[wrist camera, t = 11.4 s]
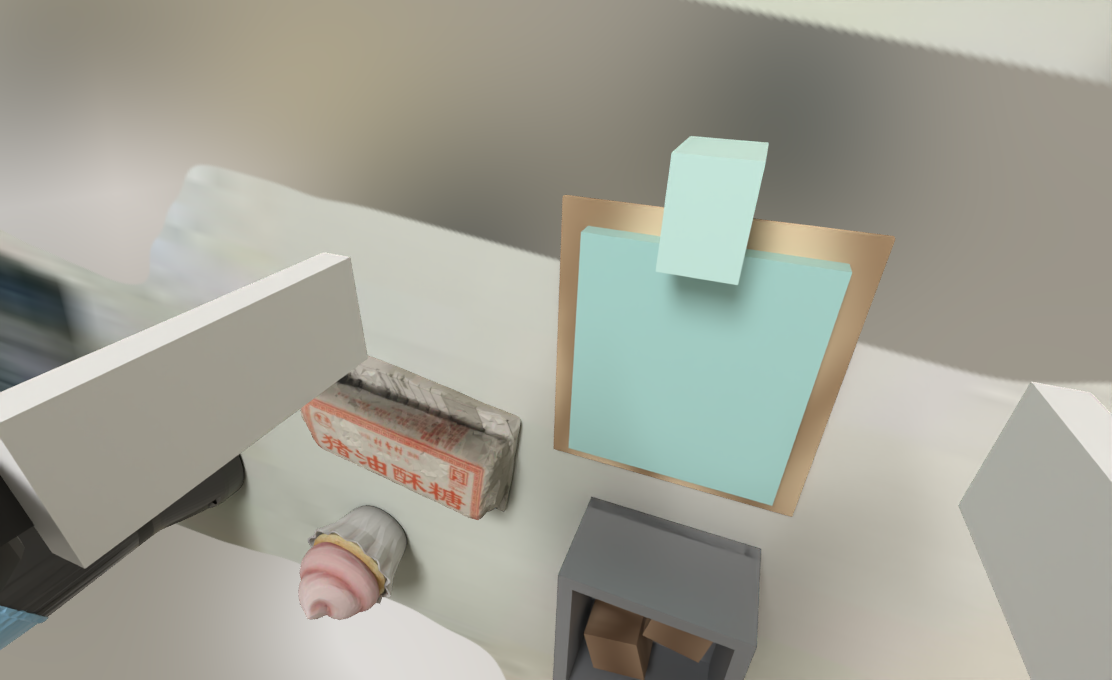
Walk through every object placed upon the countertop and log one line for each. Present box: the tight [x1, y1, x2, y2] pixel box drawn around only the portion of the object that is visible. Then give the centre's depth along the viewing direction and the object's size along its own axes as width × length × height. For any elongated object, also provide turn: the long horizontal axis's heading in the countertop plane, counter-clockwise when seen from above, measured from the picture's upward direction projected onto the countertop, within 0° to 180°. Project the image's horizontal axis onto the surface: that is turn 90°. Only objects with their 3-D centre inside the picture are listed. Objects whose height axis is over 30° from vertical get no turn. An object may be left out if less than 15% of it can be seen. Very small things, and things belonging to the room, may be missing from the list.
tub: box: [553, 497, 761, 680], centre depth 37 cm, size 12×14×7 cm
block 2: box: [642, 618, 713, 663], centre depth 36 cm, size 4×4×4 cm
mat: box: [554, 195, 895, 517], centre depth 30 cm, size 16×18×1 cm
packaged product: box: [300, 356, 521, 520], centre depth 40 cm, size 18×5×10 cm
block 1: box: [584, 599, 653, 680], centre depth 40 cm, size 4×4×4 cm
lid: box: [569, 136, 852, 506], centre depth 27 cm, size 13×20×5 cm, turn 177°
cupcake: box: [298, 505, 407, 620], centre depth 47 cm, size 9×9×10 cm
